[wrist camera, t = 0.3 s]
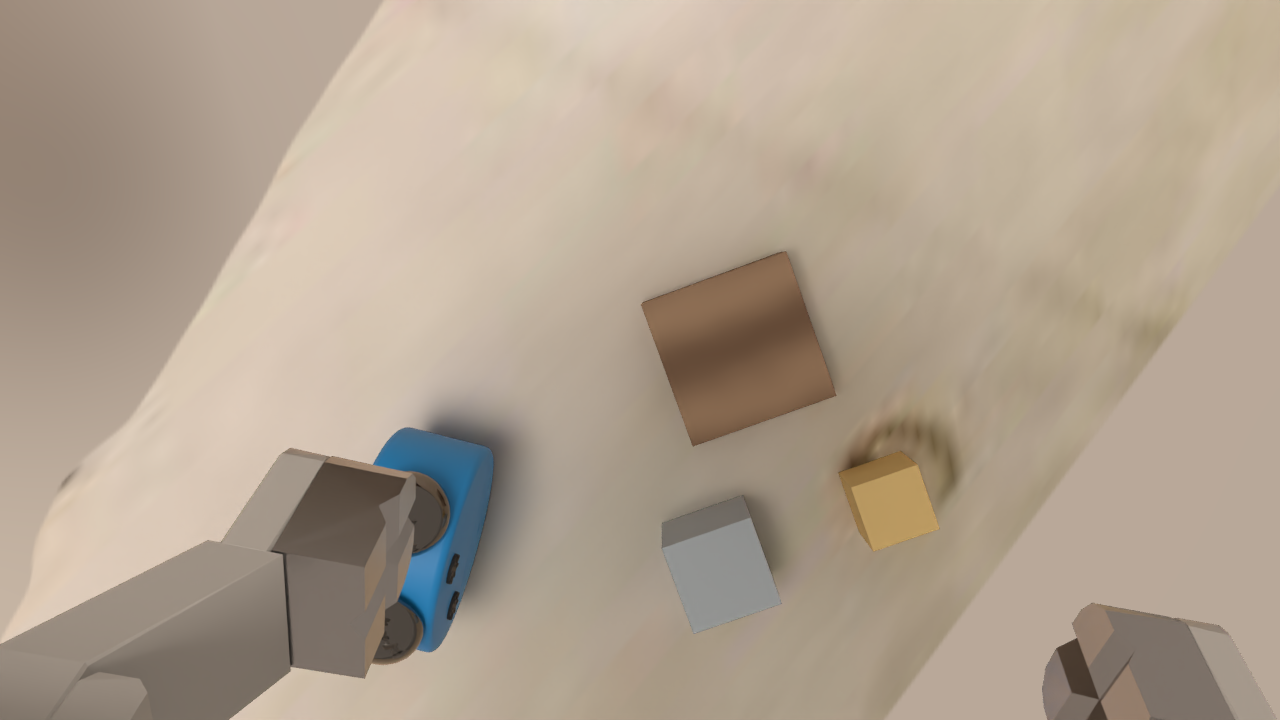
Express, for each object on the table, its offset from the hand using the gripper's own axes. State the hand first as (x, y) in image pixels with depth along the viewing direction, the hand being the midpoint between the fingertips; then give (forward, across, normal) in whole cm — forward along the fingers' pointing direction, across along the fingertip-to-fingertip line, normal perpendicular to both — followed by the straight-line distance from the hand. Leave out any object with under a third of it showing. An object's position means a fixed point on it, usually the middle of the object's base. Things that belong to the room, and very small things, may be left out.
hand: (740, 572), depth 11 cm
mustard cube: (+42, +17, -32) cm, 56 cm away
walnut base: (+46, +5, -25) cm, 53 cm away
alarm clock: (+40, -12, -39) cm, 57 cm away
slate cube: (+40, +7, -38) cm, 55 cm away
